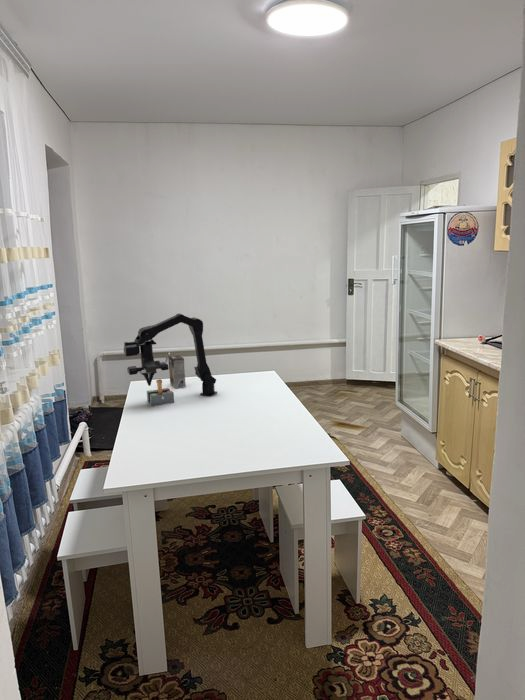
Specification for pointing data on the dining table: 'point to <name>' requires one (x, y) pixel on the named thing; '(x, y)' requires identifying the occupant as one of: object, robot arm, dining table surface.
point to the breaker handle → (159, 385)
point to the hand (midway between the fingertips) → (149, 385)
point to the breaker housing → (160, 397)
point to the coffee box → (176, 371)
